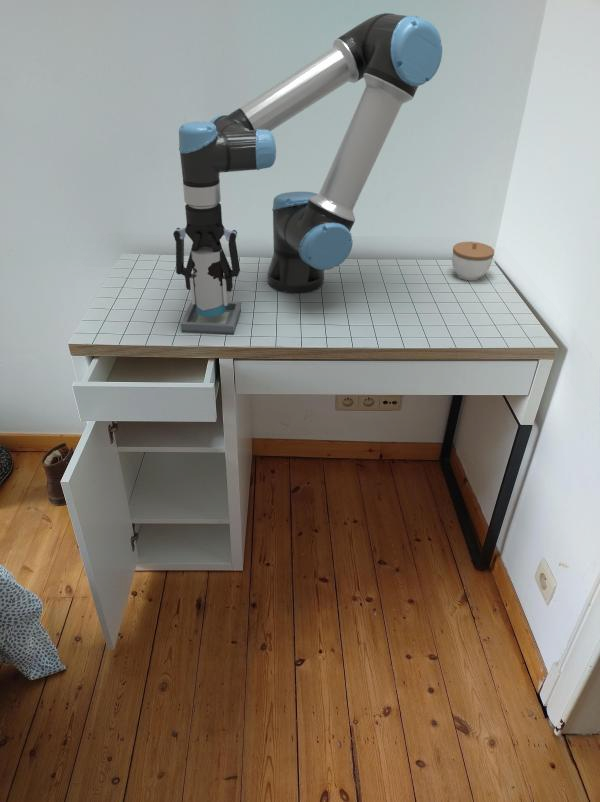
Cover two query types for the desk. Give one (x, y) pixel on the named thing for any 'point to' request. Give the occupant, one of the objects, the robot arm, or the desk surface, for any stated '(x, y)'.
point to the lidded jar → (471, 259)
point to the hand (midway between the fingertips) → (210, 302)
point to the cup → (208, 282)
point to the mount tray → (212, 320)
